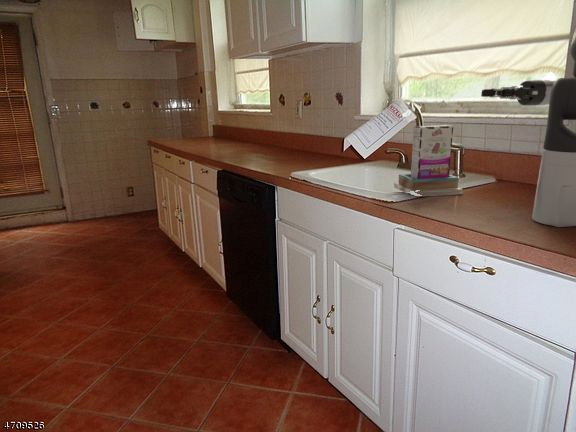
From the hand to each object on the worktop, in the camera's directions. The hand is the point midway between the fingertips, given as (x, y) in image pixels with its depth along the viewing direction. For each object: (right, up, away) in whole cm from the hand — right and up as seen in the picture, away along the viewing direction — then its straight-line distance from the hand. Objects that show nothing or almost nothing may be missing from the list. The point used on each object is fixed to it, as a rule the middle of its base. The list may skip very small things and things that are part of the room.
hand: (491, 92), depth 128 cm
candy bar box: (-16, -25, +8) cm, 31 cm away
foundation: (-16, -29, +9) cm, 34 cm away
